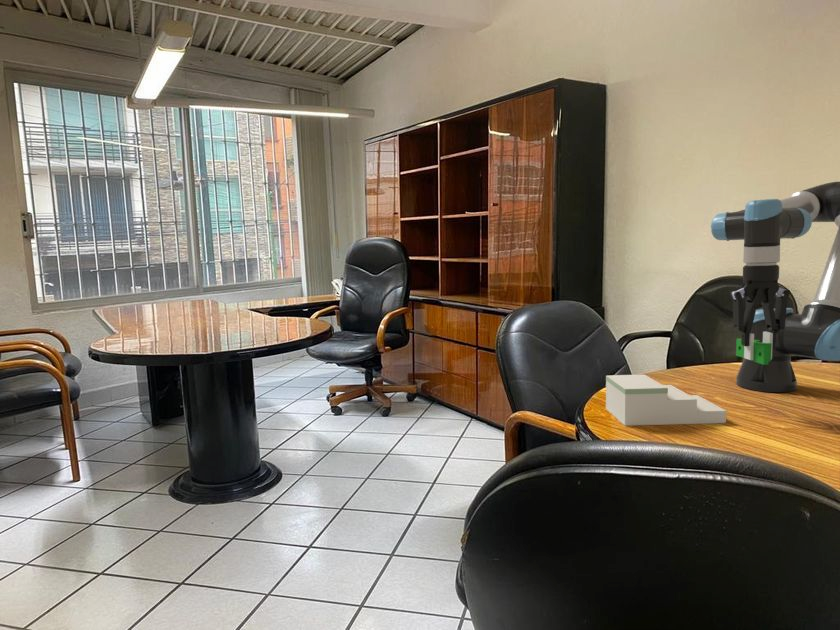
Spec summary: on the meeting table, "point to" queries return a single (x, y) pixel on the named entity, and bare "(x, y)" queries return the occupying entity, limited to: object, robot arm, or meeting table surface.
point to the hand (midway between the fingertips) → (757, 358)
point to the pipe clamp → (756, 351)
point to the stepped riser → (656, 403)
